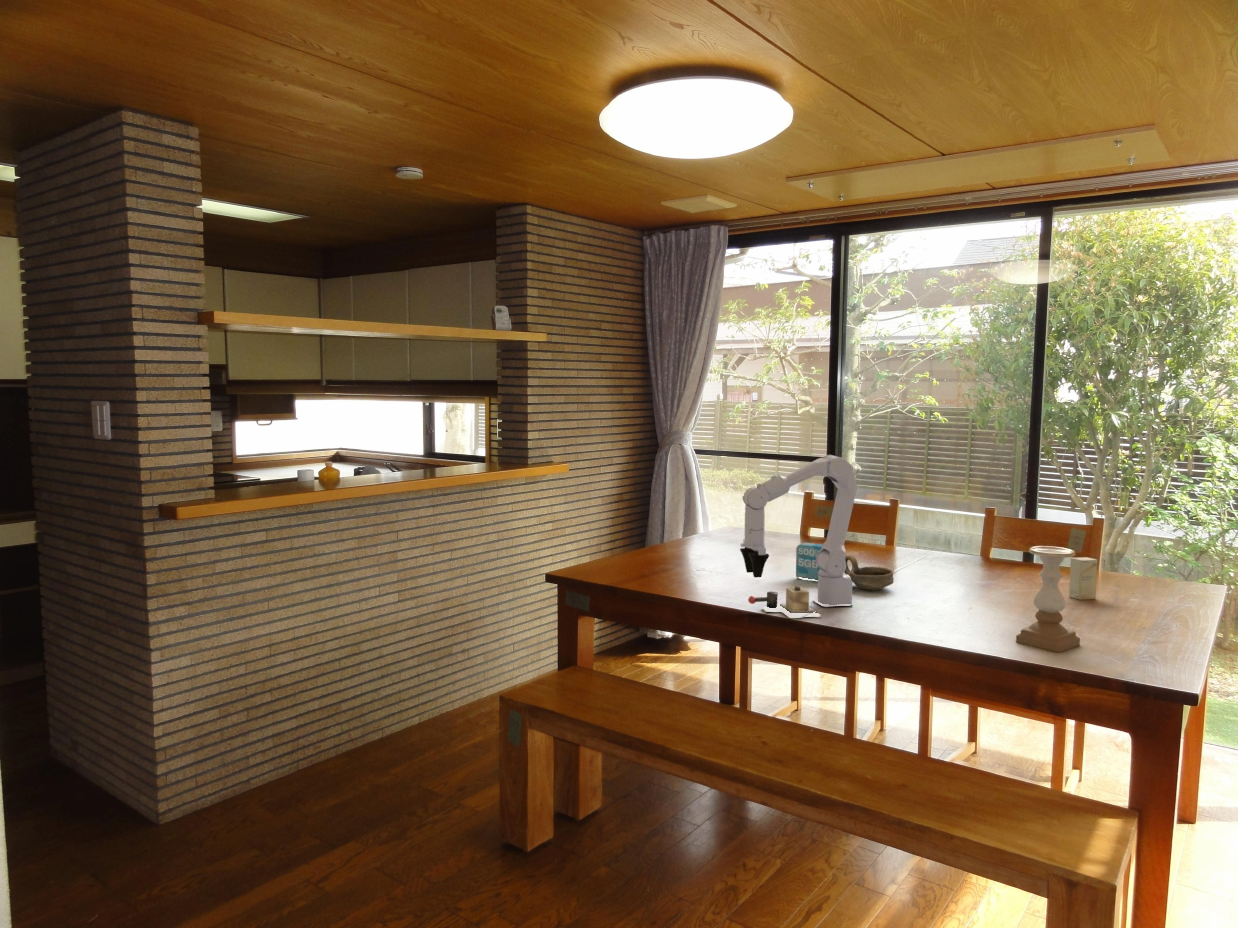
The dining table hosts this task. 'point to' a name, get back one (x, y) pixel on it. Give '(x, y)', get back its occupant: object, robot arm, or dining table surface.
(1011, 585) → the dining table surface
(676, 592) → the dining table surface
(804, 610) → the grey square slab
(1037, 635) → the candle holder
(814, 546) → the data package
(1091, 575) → the skincare box
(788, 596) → the block
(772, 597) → the lever
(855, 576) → the bowl
